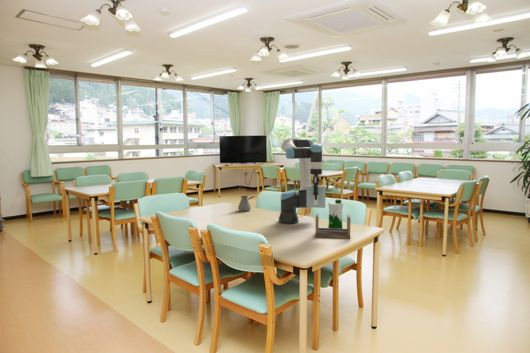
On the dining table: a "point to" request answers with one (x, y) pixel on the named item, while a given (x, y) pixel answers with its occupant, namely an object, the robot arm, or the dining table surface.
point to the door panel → (320, 197)
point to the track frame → (333, 231)
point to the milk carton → (335, 214)
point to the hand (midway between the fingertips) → (316, 203)
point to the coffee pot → (244, 204)
